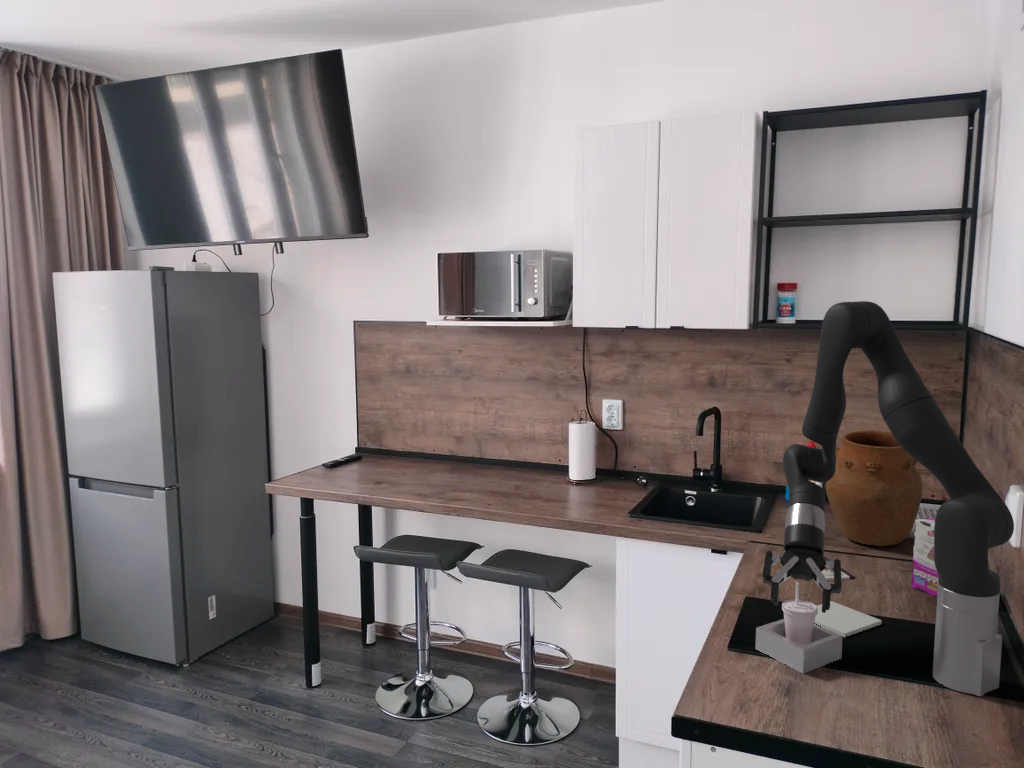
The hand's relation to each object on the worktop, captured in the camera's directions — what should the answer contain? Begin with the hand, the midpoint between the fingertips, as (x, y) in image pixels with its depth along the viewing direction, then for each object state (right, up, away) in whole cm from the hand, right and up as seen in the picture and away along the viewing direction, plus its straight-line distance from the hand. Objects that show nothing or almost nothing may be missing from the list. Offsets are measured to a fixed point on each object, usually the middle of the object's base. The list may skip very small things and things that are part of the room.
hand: (799, 607), depth 145 cm
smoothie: (0, -9, +1) cm, 9 cm away
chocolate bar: (+23, -4, +48) cm, 53 cm away
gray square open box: (0, -9, +1) cm, 9 cm away
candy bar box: (+43, -6, +30) cm, 53 cm away
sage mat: (+14, -7, +16) cm, 22 cm away
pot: (+45, -2, +68) cm, 82 cm away
